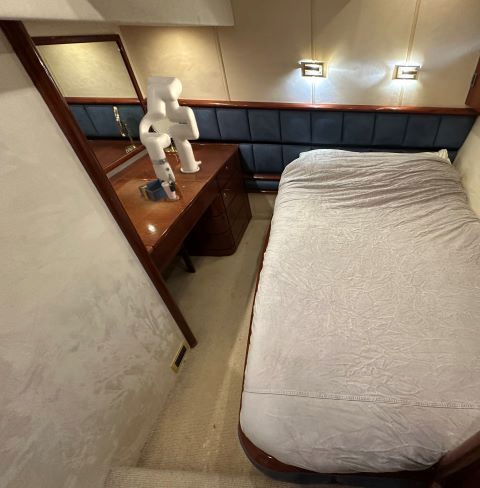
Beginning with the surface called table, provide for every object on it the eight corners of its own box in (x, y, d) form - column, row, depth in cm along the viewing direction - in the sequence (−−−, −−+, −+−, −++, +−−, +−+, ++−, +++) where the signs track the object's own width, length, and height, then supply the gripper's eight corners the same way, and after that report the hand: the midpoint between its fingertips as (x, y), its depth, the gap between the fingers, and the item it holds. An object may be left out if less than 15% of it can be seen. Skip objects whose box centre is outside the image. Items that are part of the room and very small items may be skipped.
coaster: (173, 194, 165) (173, 193, 165) (182, 197, 163) (182, 196, 162) (163, 199, 160) (162, 198, 159) (171, 202, 157) (171, 202, 157)
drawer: (162, 186, 172) (158, 174, 166) (176, 191, 168) (172, 179, 162) (139, 197, 160) (134, 184, 155) (153, 202, 156) (148, 190, 151)
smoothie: (180, 195, 164) (172, 174, 155) (175, 200, 159) (168, 179, 150) (169, 194, 163) (161, 173, 154) (164, 200, 158) (156, 178, 149)
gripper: (175, 162, 146) (185, 190, 157) (154, 155, 151) (165, 183, 163) (164, 166, 141) (174, 196, 152) (142, 159, 146) (154, 188, 158)
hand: (169, 189), depth 157 cm, fingers closed on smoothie, 6 cm apart
